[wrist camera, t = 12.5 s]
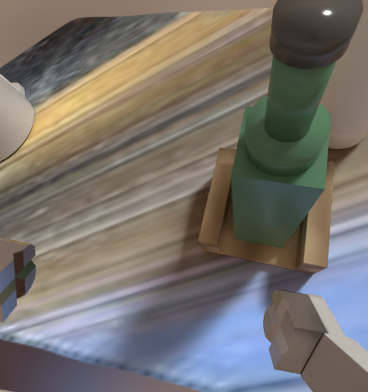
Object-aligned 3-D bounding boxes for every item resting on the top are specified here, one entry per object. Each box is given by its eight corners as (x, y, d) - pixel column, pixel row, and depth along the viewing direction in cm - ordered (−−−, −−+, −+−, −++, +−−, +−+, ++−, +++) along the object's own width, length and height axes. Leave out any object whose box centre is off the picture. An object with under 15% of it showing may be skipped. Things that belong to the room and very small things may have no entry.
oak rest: (203, 250, 32) (197, 240, 28) (221, 168, 36) (219, 147, 31) (313, 274, 29) (327, 267, 24) (321, 181, 33) (334, 160, 28)
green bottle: (234, 238, 31) (225, 64, 9) (242, 197, 33) (250, -36, 11) (282, 248, 30) (409, 70, 8) (288, 204, 31) (404, -45, 9)
